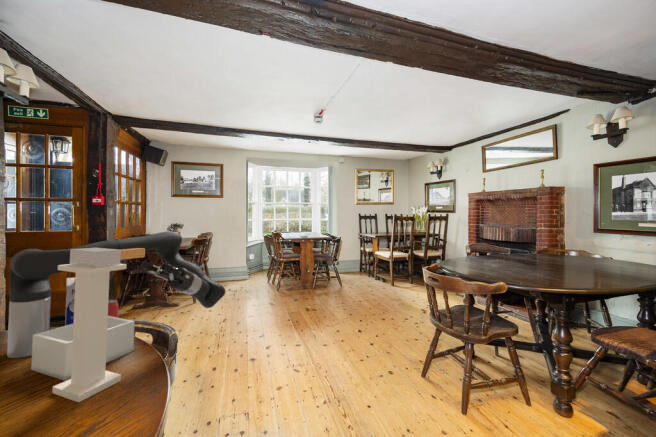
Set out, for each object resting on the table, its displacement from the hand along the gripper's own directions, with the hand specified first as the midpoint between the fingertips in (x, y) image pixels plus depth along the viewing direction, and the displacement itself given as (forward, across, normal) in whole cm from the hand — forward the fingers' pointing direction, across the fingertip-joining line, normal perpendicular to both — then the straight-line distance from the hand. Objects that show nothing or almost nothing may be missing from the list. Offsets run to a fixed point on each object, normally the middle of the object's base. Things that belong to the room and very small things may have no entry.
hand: (151, 264), depth 91 cm
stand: (0, 0, +34) cm, 34 cm away
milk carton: (-21, -46, +23) cm, 55 cm away
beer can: (-22, -32, +22) cm, 45 cm away
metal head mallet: (+11, 0, +4) cm, 12 cm away
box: (-8, -16, +30) cm, 35 cm away
